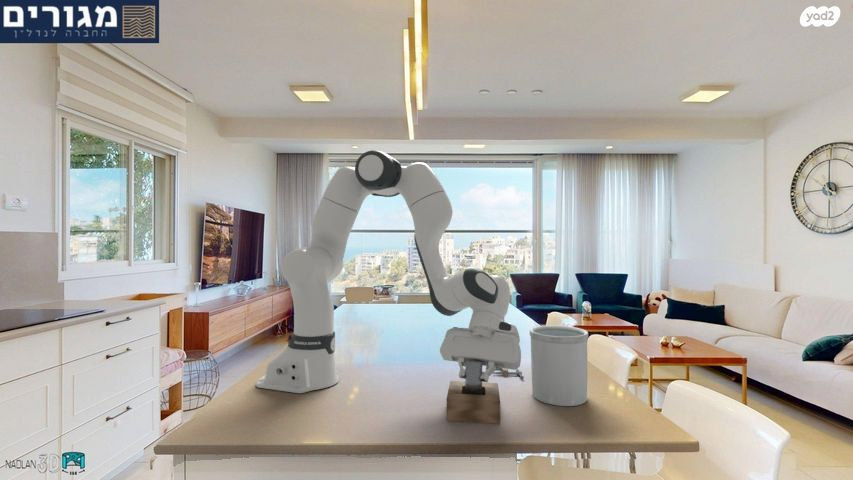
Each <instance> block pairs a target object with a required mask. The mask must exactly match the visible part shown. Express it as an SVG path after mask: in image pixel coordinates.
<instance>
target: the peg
mask: <svg viewBox="0 0 853 480" xmlns="http://www.w3.org/2000/svg"><path fill="white" fill-rule="evenodd" d="M464 367H465V368H464V369H465V379H464V380H465V381H464V382H465V394H472V395H482V383H483V382H482V381H481V379H480V377H481V373H482V372H483V365H482V361H481V360H477V359H469V360H466V361H465V366H464Z"/></svg>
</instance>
